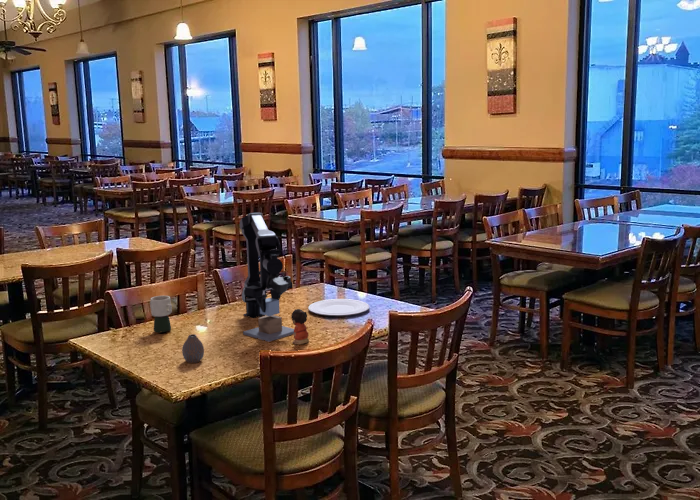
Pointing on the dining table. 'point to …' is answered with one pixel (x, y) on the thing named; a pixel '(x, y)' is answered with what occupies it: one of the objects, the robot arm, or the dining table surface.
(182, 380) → the dining table surface
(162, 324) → the character mug
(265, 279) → the robot arm
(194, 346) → the vase
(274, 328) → the walnut brick
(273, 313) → the blue brick
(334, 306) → the plate
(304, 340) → the figurine
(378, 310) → the dining table surface
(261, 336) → the build plate
